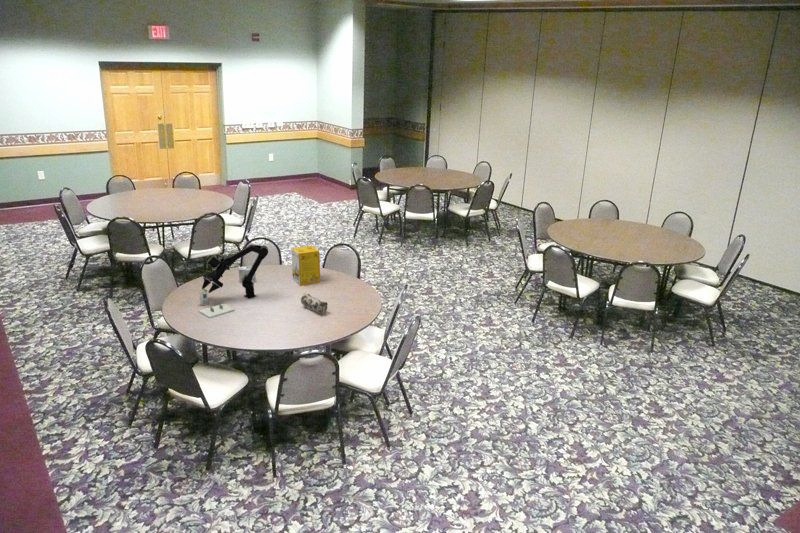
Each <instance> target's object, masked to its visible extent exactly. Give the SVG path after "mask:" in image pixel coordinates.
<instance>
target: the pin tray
mask: <svg viewBox="0 0 800 533" xmlns="http://www.w3.org/2000/svg"><path fill="white" fill-rule="evenodd" d="M235 310H236V309H234V308H233V307H231V306H229V305H227V304H226V303H221V304H218V305H217V304H216V305H213V306H210V307H207V308H203V309H200V310H198V313H200V314H201V315H203V316H204V317H206V318H208V319H213V318H215V317H218V316H222V315H225V314H229V313H233V312H235Z"/></svg>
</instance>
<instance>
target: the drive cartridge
mask: <svg viewBox="0 0 800 533" xmlns="http://www.w3.org/2000/svg"><path fill="white" fill-rule="evenodd" d="M198 293H199V302H200V305H201V306H203V307H204V306H206V305H209V298H208V297H209V295H208V294H209V293H208V290H207V289H205V288H204V289H199V290H198Z"/></svg>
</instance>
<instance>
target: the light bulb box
mask: <svg viewBox="0 0 800 533" xmlns="http://www.w3.org/2000/svg"><path fill="white" fill-rule="evenodd" d="M251 267H252V266H240V267H239V268H238V278H239V283H242V278H243V277H244V274H245V275H247V274H248V273H249V271H250V269H251ZM256 278H257V276H256V273H255V274H254V276H253V278H252V282H253V283H254V282H256V280H257V279H256Z"/></svg>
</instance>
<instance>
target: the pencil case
mask: <svg viewBox="0 0 800 533" xmlns="http://www.w3.org/2000/svg"><path fill="white" fill-rule="evenodd" d="M300 303H301V304H302V306H304V307H305V308H307V309H309V310H311V311H313V312H315V313H317V314H319V315H324V314H326V312H327V310H328V305H329V304H328V302H327V301H324V300H321V299H318V298H316V297H315V296H311V294H310V293H307V292H303V293H302V295H301V298H300Z"/></svg>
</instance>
